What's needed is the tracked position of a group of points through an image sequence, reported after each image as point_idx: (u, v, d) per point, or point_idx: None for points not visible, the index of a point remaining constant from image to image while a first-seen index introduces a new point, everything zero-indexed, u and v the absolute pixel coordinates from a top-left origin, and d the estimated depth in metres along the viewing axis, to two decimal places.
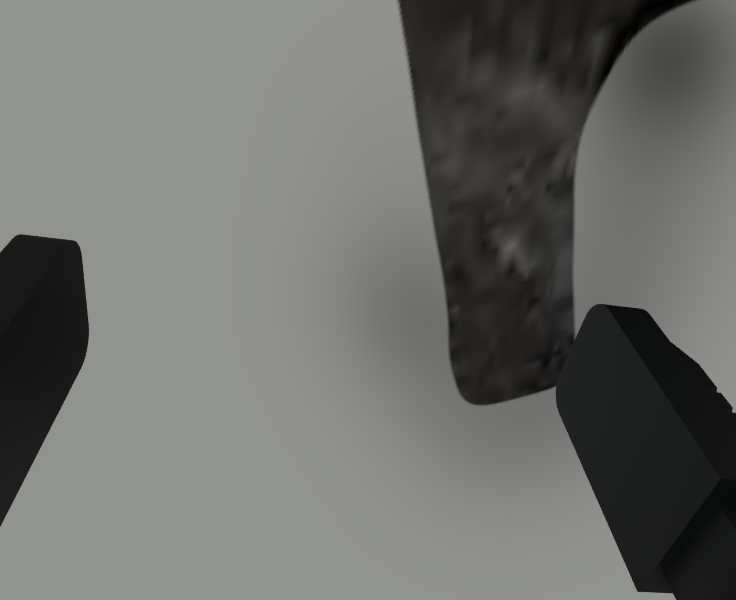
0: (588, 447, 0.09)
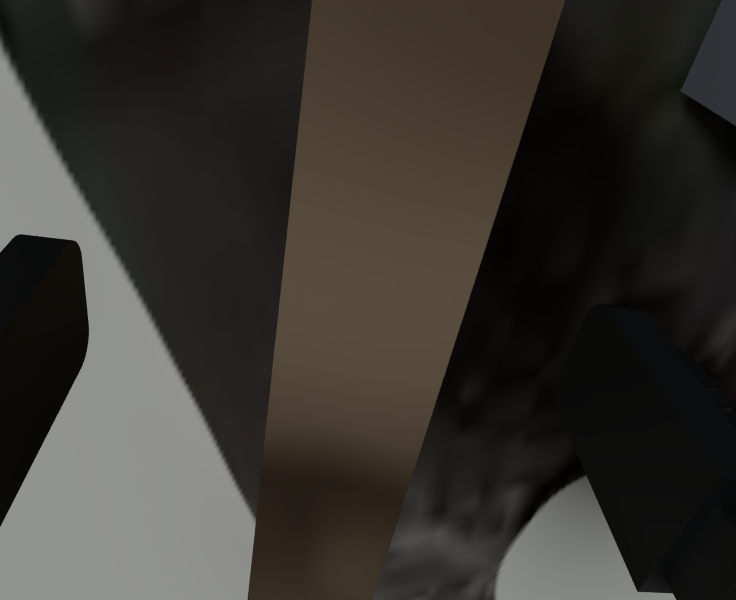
0: (588, 447, 0.09)
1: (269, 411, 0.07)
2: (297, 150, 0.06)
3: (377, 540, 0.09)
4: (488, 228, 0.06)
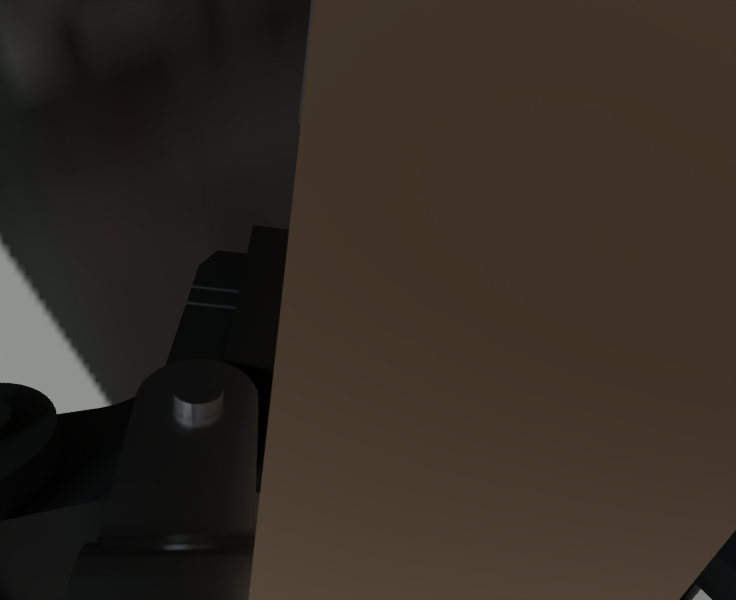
0: None
1: None
2: (255, 560, 0.03)
3: None
4: None
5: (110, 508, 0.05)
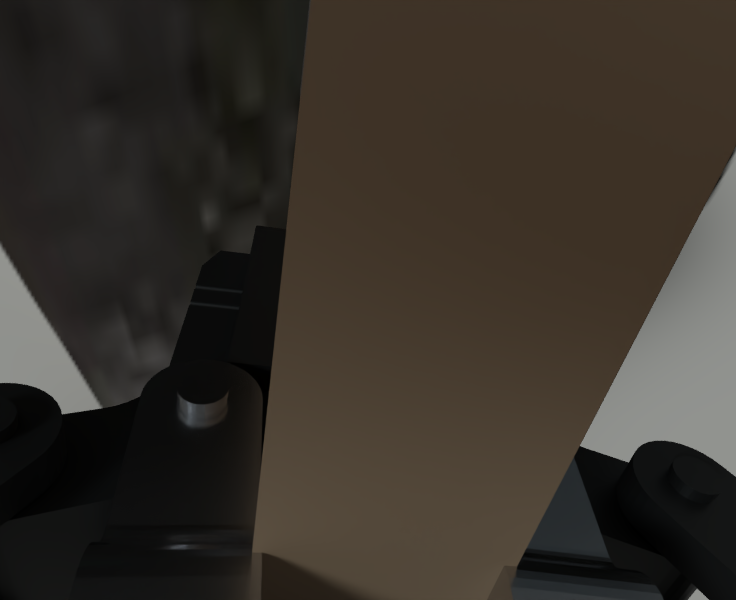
0: None
1: None
2: (270, 400, 0.04)
3: None
4: (554, 476, 0.04)
5: (116, 507, 0.05)
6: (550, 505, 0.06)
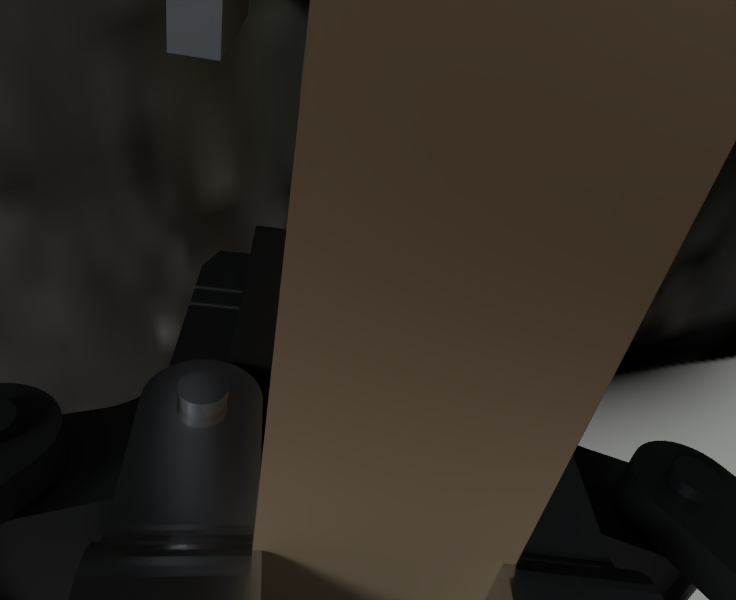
0: None
1: None
2: (270, 398, 0.04)
3: None
4: (552, 474, 0.04)
5: (116, 507, 0.05)
6: (550, 505, 0.06)
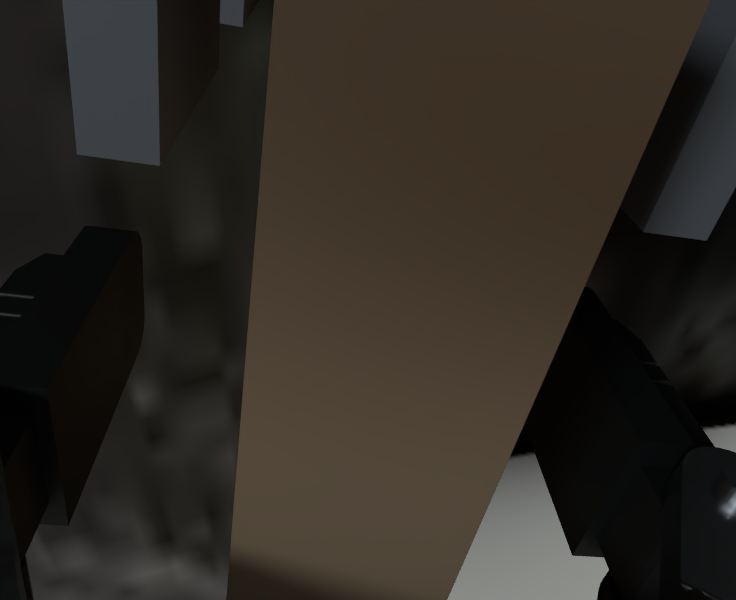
0: (535, 421, 0.10)
1: None
2: (248, 341, 0.04)
3: None
4: (518, 421, 0.05)
5: None
6: None
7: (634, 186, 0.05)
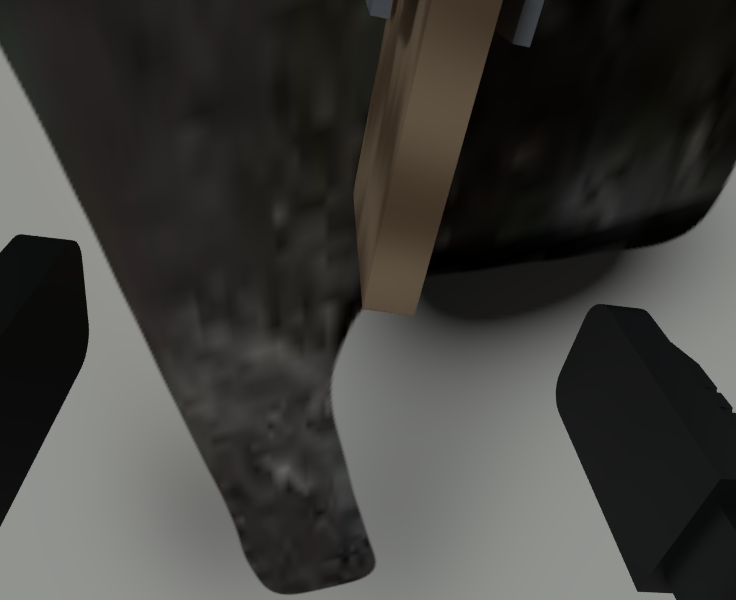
0: (588, 447, 0.09)
1: (397, 157, 0.20)
2: (421, 49, 0.18)
3: (431, 232, 0.21)
4: (479, 81, 0.19)
5: None
6: None
7: (511, 33, 0.20)
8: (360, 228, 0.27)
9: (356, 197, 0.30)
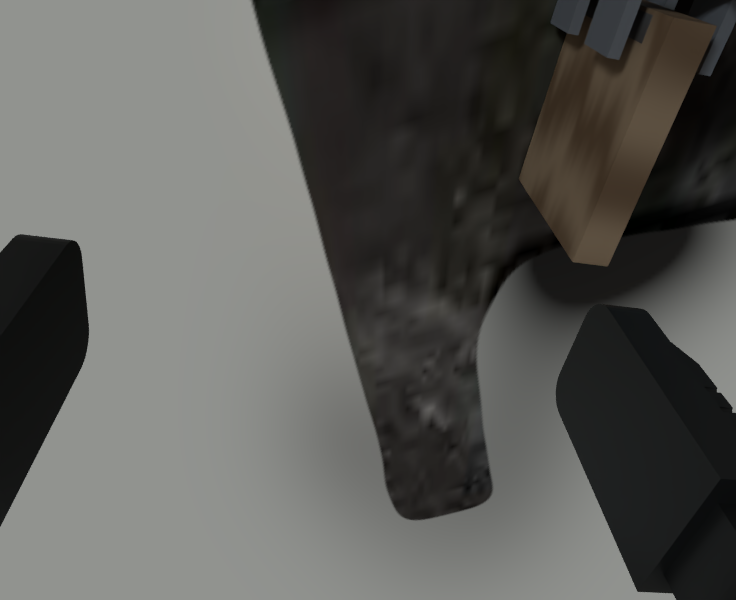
0: (588, 447, 0.09)
1: (617, 153, 0.29)
2: (647, 82, 0.27)
3: (631, 205, 0.30)
4: (681, 101, 0.28)
5: None
6: None
7: None
8: (547, 205, 0.36)
9: (528, 182, 0.39)
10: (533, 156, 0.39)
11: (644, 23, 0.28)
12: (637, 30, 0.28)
